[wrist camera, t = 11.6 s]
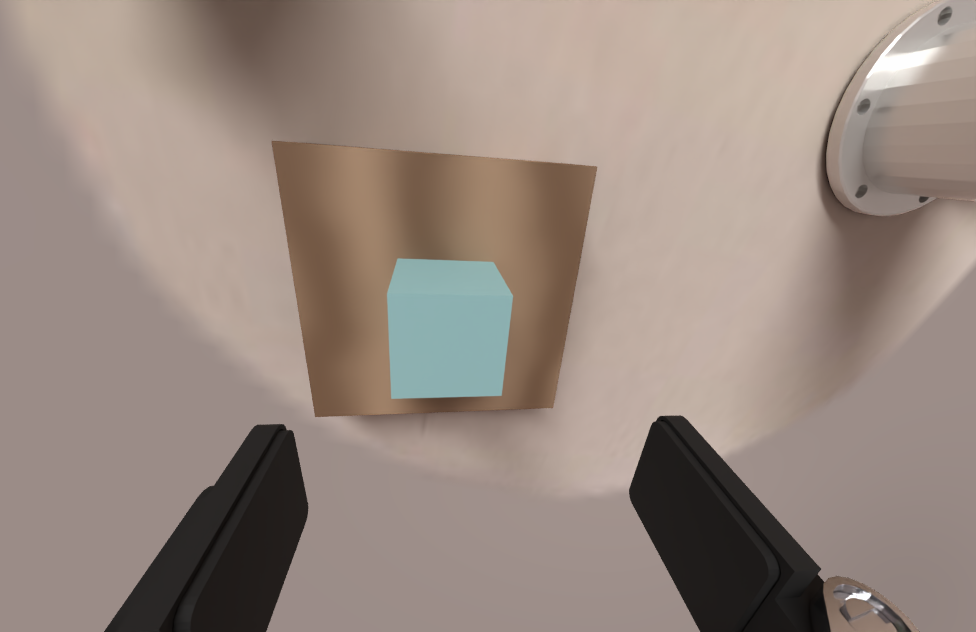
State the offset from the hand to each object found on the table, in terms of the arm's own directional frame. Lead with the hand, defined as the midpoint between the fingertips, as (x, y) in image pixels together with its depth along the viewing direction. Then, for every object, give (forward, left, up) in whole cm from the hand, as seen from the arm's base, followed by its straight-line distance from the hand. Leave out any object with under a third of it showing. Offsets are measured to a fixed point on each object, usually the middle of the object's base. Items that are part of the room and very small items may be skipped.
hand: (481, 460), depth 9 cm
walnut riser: (+1, 0, -16) cm, 16 cm away
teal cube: (+1, 0, -11) cm, 11 cm away
